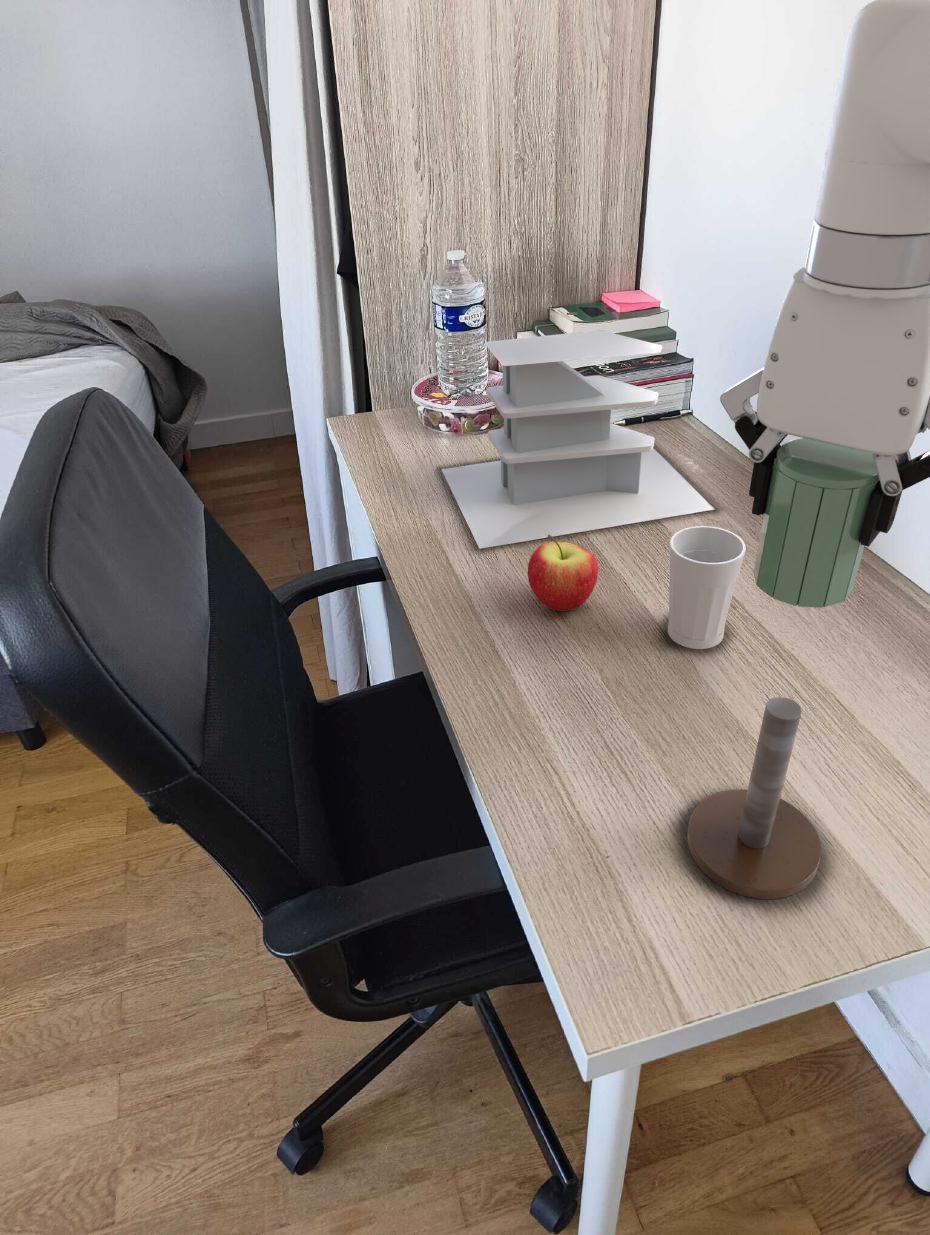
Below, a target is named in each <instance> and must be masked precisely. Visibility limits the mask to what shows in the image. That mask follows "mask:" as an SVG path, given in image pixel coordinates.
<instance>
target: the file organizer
mask: <svg viewBox="0 0 930 1235" xmlns="http://www.w3.org/2000/svg"><path fill="white" fill-rule="evenodd" d="M484 345H485V346H486V347H487V349H488V350H489V351H490V352H491V354H492V355H493V356H494V358H496V360H497V361H498V363H500V365H501V367H502V368H501V369H502V385H495V386H493V385H492V386H488V387H486V395H487V397H488V398H489V399H490V401H491V402H492V404H493V405H494V406H495V408H496V410H497V411H498V412H499V414H500V415H501V417H502V418H503V428H497V429H490V430H488V431H487V433H488V434H487V435H488V436H487V437H488V440H489V441H490V442H491V444H492V446H493V447H494V449H495V450H496V452H497V453H498V455H499V457H500V460H494V461H488V462H481V463H480V462H479V463H474V464H467V465H461V466H454V467H448V468H441V472H442V474H443V477H444V478H445V480H446V483H447V484H448V487H449V489H450V490H451V492H452V495H453V497H454V499H455V501H456V504H457V505H458V507H459V509H460V512H461V513H462V515H463V517H464V520H465V523H466V524H467V526H468V528H469V531H470V532H471V534H472V537H473V538H474V541H475V542H476V546H477V547H478V548H479V550H482V549H488V548H493V547H498V546H499V547H501V546H504V545H511V544H516V543H517V544H518V543H523V542H528V541H534V540H535V541H536V540H541V539H547V538H549V537H548V535H551V536H552V537H553V538H554V537H559V536H564V535H570V534H576V533H582V532H583V533H584V532H587V531H594V530H595V531H596V530H599V529H606V528H612V527H619V526H623V525H624V526H626V525H631V524H637V523H643V522H648V521H649V522H650V521H654V520H660V519H666V518H672V517H678V516H685V515H689V514H690V515H691V514H695V513H702V512H708V511H713V510H716V509H715V508H714V507H713V505H711V504H710V503H709V502H708V501H707V500H706V499H705V498H704V497H703V496H702V495H701V494H700V493H699V492H698V491H697V490H696V489H695V488H694V487H693V486H692V485H691V484H690V483H689V482H688V481H687V480H686V479H685V478H684V477H683V476H682V475H681V474H680V473H679V472H678V471H677V470H676V469H675V468H674V467H673V466H672V465H671V463H669V462H668V461H667V460H666V459H665V458H664V457H663V456H662V455H661V454H660V453H659V451H657V449H655V448H654V446H655V441H656V440H655V439H656V438H655V437H654V436H651V435H649V434H645V433H642V432H641V431H640V432H639V431H637V430H634V429H630V428H627V427H624V426H621V425H618V424H615V423H613V422H611V416H612V410H621V409H634V408H644V407H653V406H657V403H658V401H659V392H657V391H654V390H650V389H647V388H644V387H640V386H638V385H634V384H631V383H627V382H624V381H620V380H617V379H613V378H611V377H610V378H609V377H606V376H603V375H599V374H598V375H595V374H594V375H586V376H584V375H583V374H581V373H580V372H579V371H577V370H576V369H575V368H574V367H571V366H570V365H569V364H567V363H566V362H567V361H568V362H570V361H580V360H581V361H582V360H592V359H604V358H605V359H606V358H615V357H626V356H628V357H629V356H638V355H651V354H653V355H654V354H660V353H661V352H662V349H663V345H662V344H658V343H654V342H649V341H646V340H643V339H638V338H634V337H631V336H625V335H621V334H618V333H615V332H614V333H613V332H610V331H607V330H599V329H598V330H587V331H579V332H568V333H560V334H559V333H558V334H549V335H541V336H540V335H539V336H528V337H520V338H510V339H500V340H491V341H490V340H489V341H486V342H484Z"/></svg>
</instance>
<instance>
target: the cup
mask: <svg viewBox="0 0 930 1235" xmlns="http://www.w3.org/2000/svg"><path fill="white" fill-rule="evenodd" d="M746 549H747V548H746V543H745V541H744V539H742V538H741V537H740V536H739V535H738V534H736V533H734V532H732V531H730V530H727V529H725V528H721V527H717V526H711V525H710V526H708V525H697V526H689V527H685V528H682V529H680V530H678V531H676V532H675V533H674V534H672V536H671V537H670V540H669V588H668V589H669V590H668V592H669V593H668V623H667V624H668V625H667V634H668V637H670V639H671V640H672V641H673V642H674V643H676V644H678V645H679V646H682V647H684V648H686V649H687V648H688V649H691V650H692V649H693V650H706V649H707V650H708V649H711V648H714V647H716V646H718V645H719V644H720V643H721V642H722V641H723V639H724V634H725V628H726V623H727V619H728V614H729V611H730V606H731V604H732V600H733V599H732V598H733V595H734V591H735V588H736V584H737V580H738V577H739V576H740V572H741V568H742V565H743V560H744V558H745V554H746V551H747V550H746Z"/></svg>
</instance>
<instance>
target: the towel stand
mask: <svg viewBox="0 0 930 1235" xmlns="http://www.w3.org/2000/svg"><path fill="white" fill-rule="evenodd" d="M802 712H803V710H802V707H801V705H800V704H799V703H798V702H796V701H795V700H794V699H791V698H788V697H785V696H774V697H772V698H770V699H769V700H767V701H766V702H765V707H764V712H763V716H762V720H761V725H760V730H759V734H758V738H757V743H756V749H755V752H754V758H753V762H752V767H751V770H750V776H749V780H748V785H747V788H734V789H726V790H721V791H719V792H716V793H713V794H711V795H709V796H707V797H706V798H704V799H702V800H701V801H700V802H699V803H698V804H697V805H696V806H695V808H694V809H693V811H692V813H691V815H690V817H689V820H688V821H689V822H688V825H687V833H686V834H687V835H686V838H687V845H688V846H687V847H688V849H689V852H690V854H691V856H692V858H693V860H694V862H695V864H696V865H697V866H698V867H699V869H700V870H701V871H702V873H704V875H706V876H707V877H708V878H710V880H712V881H713V882H714V883H716V884H717V885H718V886H720V887H721V888H724V889H725V890H727V891H730V892H732V893H735V894H738V895H740V896H744V897H747V898H751V899H758V900H777V899H782V898H787V897H790V896H794V895H795V894H797V893H799V892H801V891H802V890H804V889H806V887H808V886H809V885H810V884H811V883H812V881H813V880H814V878H815V877H816V876H817V875H816V874H817V872H818V870H819V866H820V863H821V858H822V845H821V840H820V837H819V834H818V832H817V830H816V829H815V827H814V825H813V824H812V822H811V821H810V820H809V819H808V817H807V816H806V815H805V814H804V813H803V812H802V811H800V810H799V809H798V808H796V807H795V806H794V805H793V804H791V803H789V802H788V801H787V800H784V799H782V798H781V797H782V793H783V788H784V786H785V785H784V784H785V781H786V777H787V773H788V769H789V764H790V761H791V757H792V753H793V749H794V745H795V741H796V736H797V734H798V733H797V731H798V729H799V726H800V721H801V716H802Z"/></svg>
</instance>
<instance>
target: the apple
mask: <svg viewBox="0 0 930 1235" xmlns="http://www.w3.org/2000/svg"><path fill="white" fill-rule="evenodd" d="M547 538H549V539H551V540H552V541H549V542H545V543H543V544H540V545H539V546H538V547H537V548H536V549H535V550H534V551H533V552H532V554H531V556H530V558H529V560H528V565H527V580H528V583H529V586H530V589H531V591H532V593H533V595H534V597H536V598H537V600H538V601H539V602H540V603H541V604H542V605H544V606H545V607H547V608H548V609H551V610H553V611H558V612H566V611H572V610H575V609H579V607H581V606H582V605H584V604H585V603H586V601H587V600H588V599H589V597H590V596H591V594H592V593H593V591H594V589H595V587H596V583H597V581H598V576H599V565H598V561H597V560H598V559H597V558H596V557H595V555H594V554H593V553H592V552H590V551H589V550H588V549H585V548H584V547H581V546H579V545H577V544H575V543H570V542H566V541H557V540H556V539H555V538H554V536H553V537H552V536H551V535H548V537H547Z"/></svg>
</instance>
